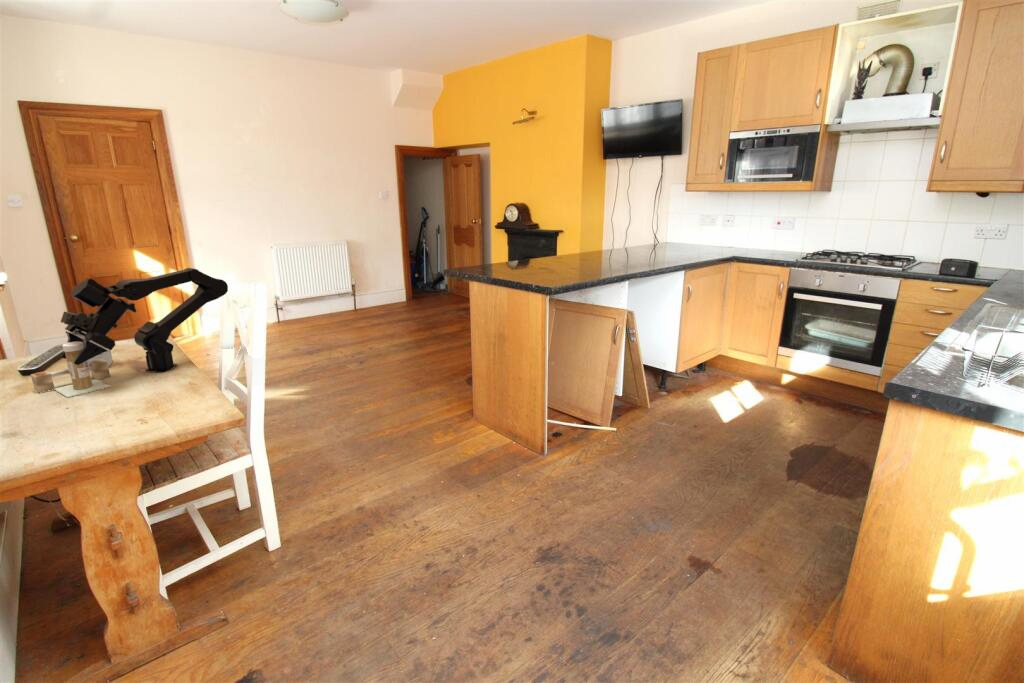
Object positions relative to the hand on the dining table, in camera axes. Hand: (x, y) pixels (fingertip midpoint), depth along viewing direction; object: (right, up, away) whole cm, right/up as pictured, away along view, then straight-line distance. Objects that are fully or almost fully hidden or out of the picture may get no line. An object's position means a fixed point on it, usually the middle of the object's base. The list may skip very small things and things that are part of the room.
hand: (69, 361), depth 142 cm
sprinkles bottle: (+1, -8, +4) cm, 9 cm away
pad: (0, -8, +4) cm, 9 cm away
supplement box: (-10, -3, +22) cm, 24 cm away
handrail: (-5, -7, +8) cm, 12 cm away
